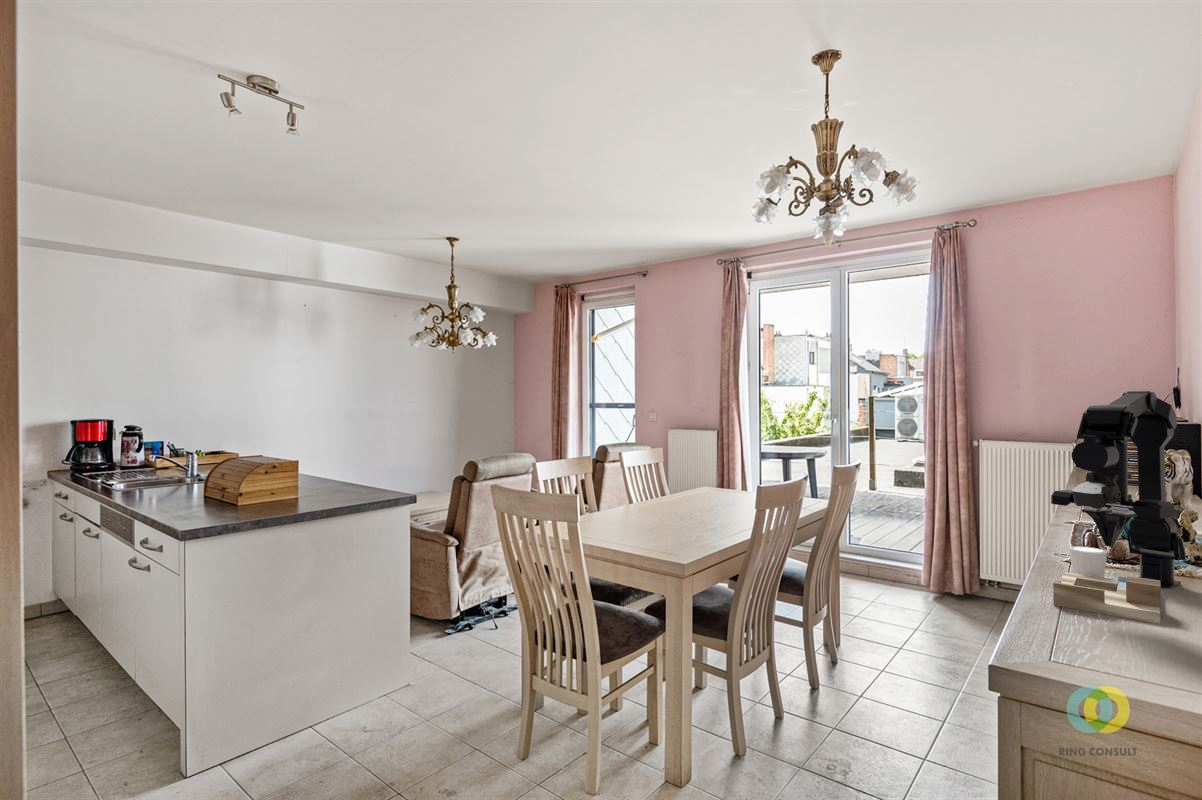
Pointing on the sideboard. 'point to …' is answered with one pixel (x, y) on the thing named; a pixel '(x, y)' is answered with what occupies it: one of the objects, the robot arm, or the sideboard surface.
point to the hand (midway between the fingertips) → (1109, 546)
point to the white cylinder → (1088, 561)
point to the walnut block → (1143, 591)
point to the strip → (1122, 582)
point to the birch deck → (1099, 597)
